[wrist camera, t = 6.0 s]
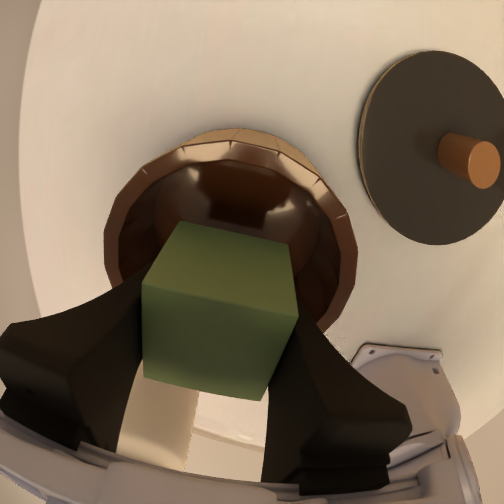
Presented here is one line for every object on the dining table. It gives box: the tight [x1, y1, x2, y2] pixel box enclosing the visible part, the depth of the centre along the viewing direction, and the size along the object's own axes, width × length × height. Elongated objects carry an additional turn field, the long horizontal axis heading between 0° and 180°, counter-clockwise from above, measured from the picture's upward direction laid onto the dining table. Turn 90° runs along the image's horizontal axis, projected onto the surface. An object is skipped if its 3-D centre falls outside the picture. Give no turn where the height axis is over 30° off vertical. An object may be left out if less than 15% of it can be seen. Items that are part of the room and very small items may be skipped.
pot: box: [104, 128, 358, 333], centre depth 16 cm, size 12×12×6 cm
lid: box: [358, 51, 504, 245], centre depth 13 cm, size 13×13×4 cm
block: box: [141, 221, 299, 401], centre depth 11 cm, size 4×4×4 cm
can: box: [116, 360, 200, 471], centre depth 18 cm, size 6×6×12 cm
